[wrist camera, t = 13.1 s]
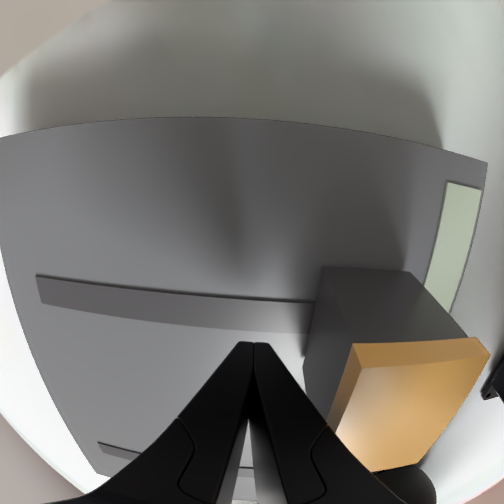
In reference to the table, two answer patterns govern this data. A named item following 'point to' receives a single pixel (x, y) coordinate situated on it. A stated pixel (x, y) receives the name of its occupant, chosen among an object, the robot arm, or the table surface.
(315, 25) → the table surface
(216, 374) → the robot arm
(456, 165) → the panel
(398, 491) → the cola bottle
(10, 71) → the table surface
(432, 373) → the switch
